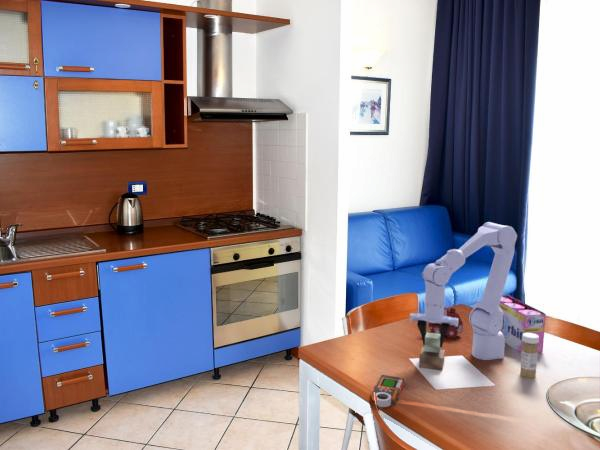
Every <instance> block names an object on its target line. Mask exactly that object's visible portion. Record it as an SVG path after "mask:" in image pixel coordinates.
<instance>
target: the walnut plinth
mask: <svg viewBox="0 0 600 450" xmlns="http://www.w3.org/2000/svg"><path fill="white" fill-rule="evenodd" d="M424 348H425V346H424V347H423V346H422V347H421V350H420V353H419V357H418V358H419V368H426V369H434V370H441V371H442V370H443V366H444V359H445V357H446V350H445V349H442V348H441V349H440V352H439V353H435V352H427V351H424Z"/></svg>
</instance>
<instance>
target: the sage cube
mask: <svg viewBox="0 0 600 450" xmlns="http://www.w3.org/2000/svg"><path fill="white" fill-rule="evenodd" d="M440 338H441V334H437V333H431V332H428V331H426V336H425V345H424V347H425V348H424V351H427V352H435V353H439V352H440V349H442V347H440Z"/></svg>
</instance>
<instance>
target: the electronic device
mask: <svg viewBox="0 0 600 450" xmlns="http://www.w3.org/2000/svg"><path fill="white" fill-rule="evenodd" d="M404 384H405V378H404V377H399V376H392V375H387V374H381V375H380V377H379V379H378V381H377V383H376V385H375V387H374V389H373V391H372V393H373V392H375V393H376V396H377V405H378V406H377V405H376V406H377V407H381V408H388V407H390V406H391V405H393V406H395V405H396V404H397V402H398V400H399V398H398V397H399V395H400V393H401V392H402V390H403V388H404Z"/></svg>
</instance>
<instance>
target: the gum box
mask: <svg viewBox="0 0 600 450" xmlns="http://www.w3.org/2000/svg"><path fill="white" fill-rule="evenodd" d="M499 306H500V308H501V310H502V311H503V313H504V315H503V326H502V329H501V332H502V333H503V335H504V338H505V344H507V345H508V346H509V347H511V348H513V349H514V350H515V351H517V352H519V353H520V354H521V353H522V335H523V334H524V333H534V334H537V335H538V336H539V342H538V349H537V352H538V353H539V354H540V353H543V352H544V351H543V350H544V338H545V330H546V329H545V328H546V326H545V325H546V317H547V316H546V313H545V312H544V311H541V310H539V309H537V308H535V307H532V306H531V305H528V304H526V303H524V302H522V301H521V300H519V299H518V298H515V297H513V296H510V295H509V294H502V297H501V300H500V304H499Z"/></svg>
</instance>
